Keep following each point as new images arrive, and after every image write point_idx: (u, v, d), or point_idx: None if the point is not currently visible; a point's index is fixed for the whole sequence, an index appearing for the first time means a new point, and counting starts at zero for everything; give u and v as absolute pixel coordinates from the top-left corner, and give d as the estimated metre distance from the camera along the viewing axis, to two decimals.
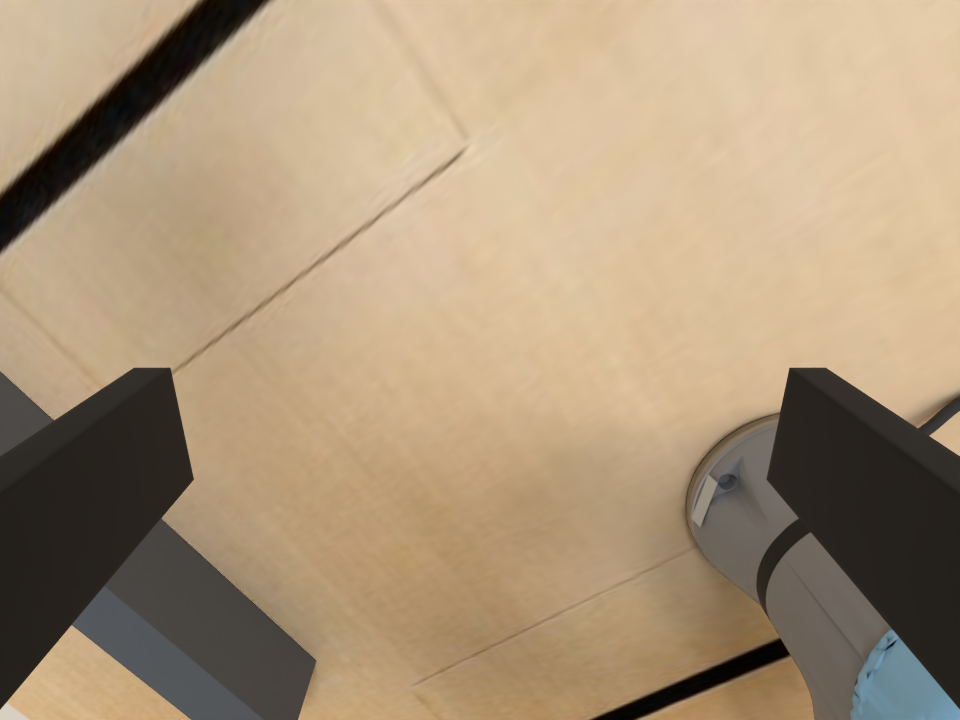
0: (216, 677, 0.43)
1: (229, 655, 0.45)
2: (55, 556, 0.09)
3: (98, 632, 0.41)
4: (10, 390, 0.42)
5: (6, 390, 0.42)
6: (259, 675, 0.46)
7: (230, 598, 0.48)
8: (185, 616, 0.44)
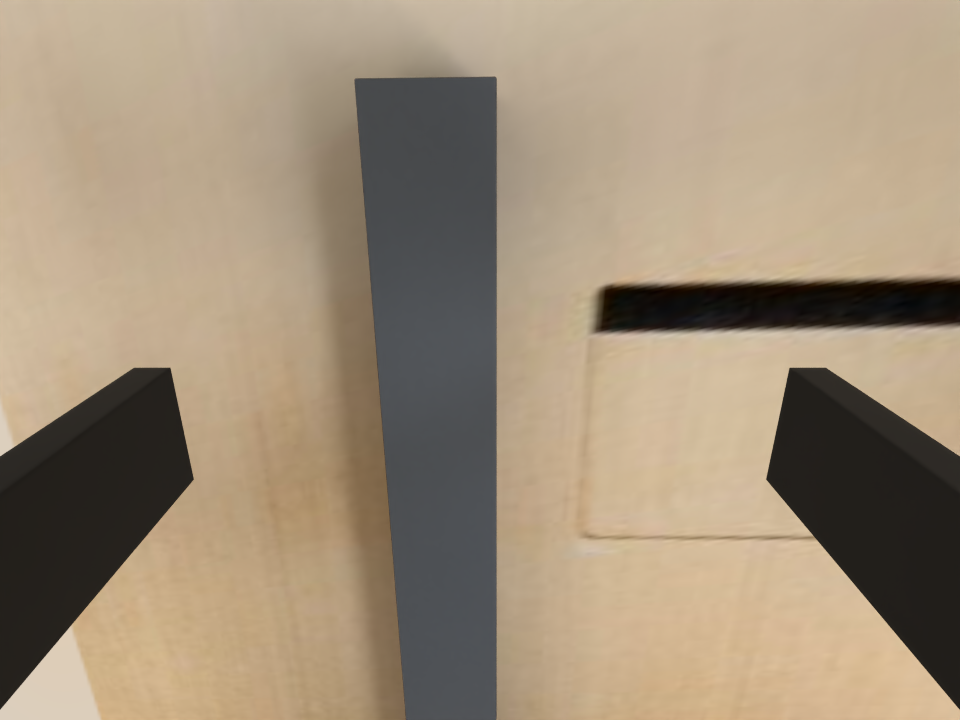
0: None
1: None
2: (55, 556, 0.09)
3: None
4: None
5: None
6: None
7: None
8: None
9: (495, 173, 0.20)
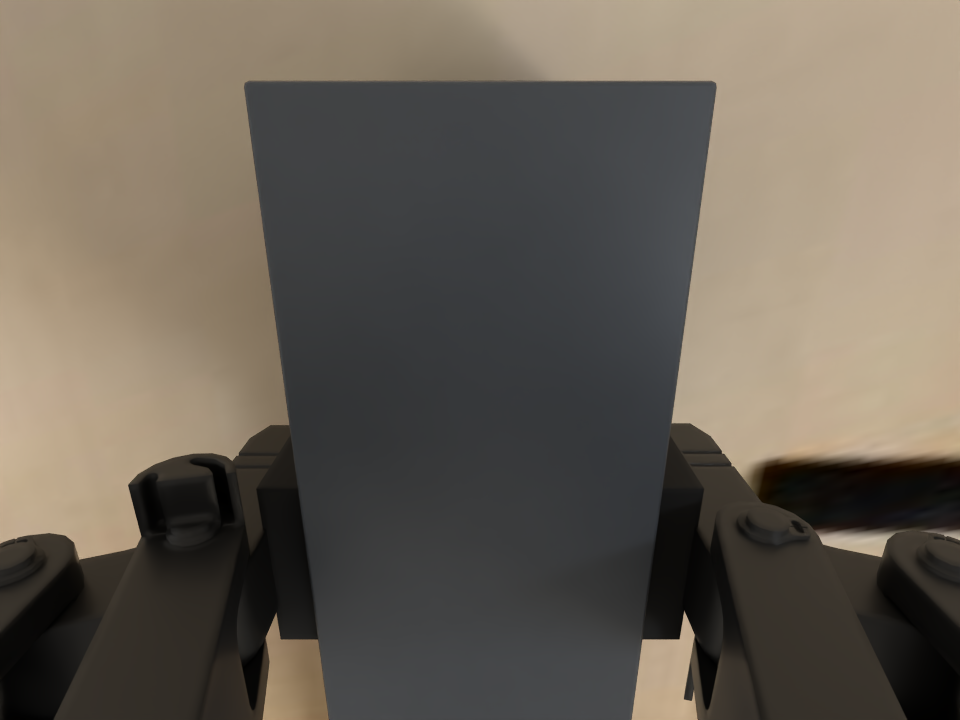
0: None
1: None
2: None
3: None
4: None
5: None
6: None
7: None
8: None
9: (677, 366, 0.07)
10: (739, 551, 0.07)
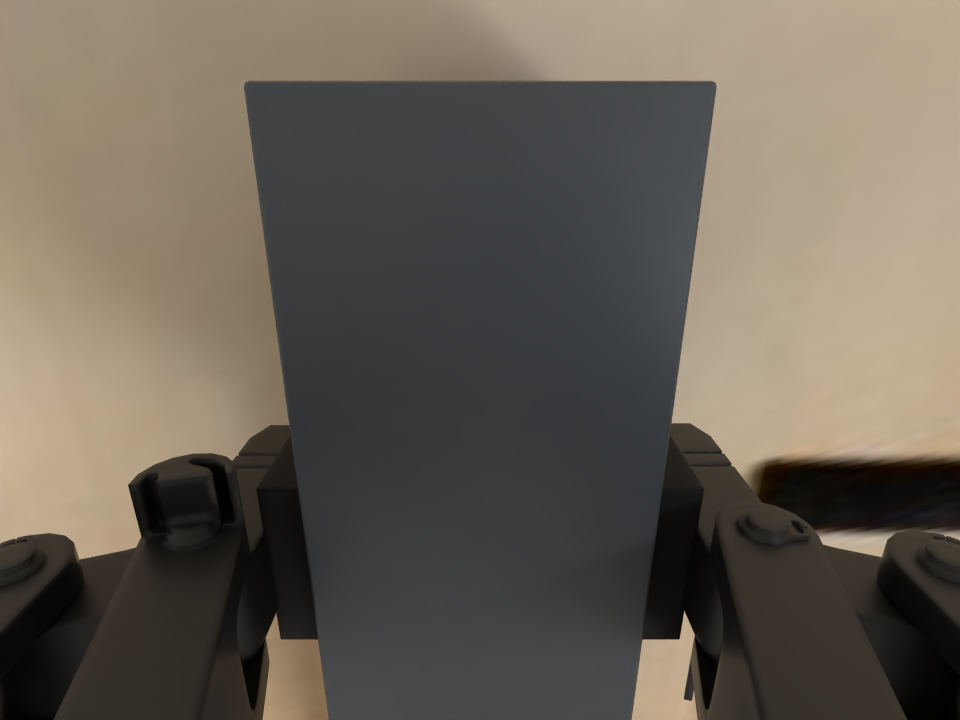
0: None
1: None
2: None
3: None
4: None
5: None
6: None
7: None
8: None
9: (677, 366, 0.07)
10: (739, 551, 0.07)
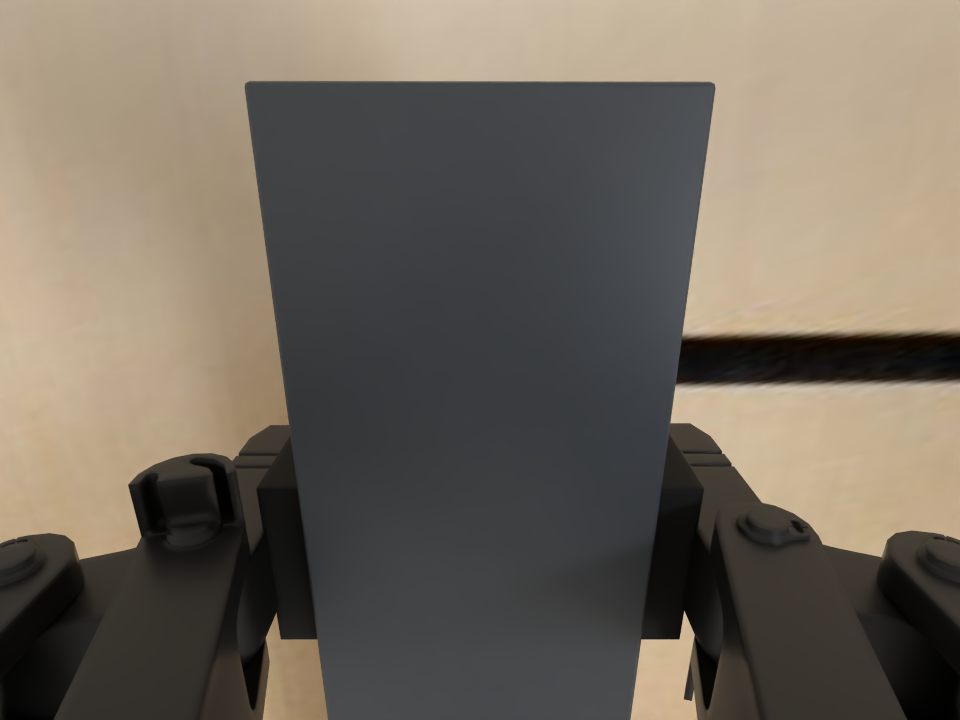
0: None
1: None
2: None
3: None
4: None
5: None
6: None
7: None
8: None
9: (676, 366, 0.07)
10: (739, 551, 0.07)
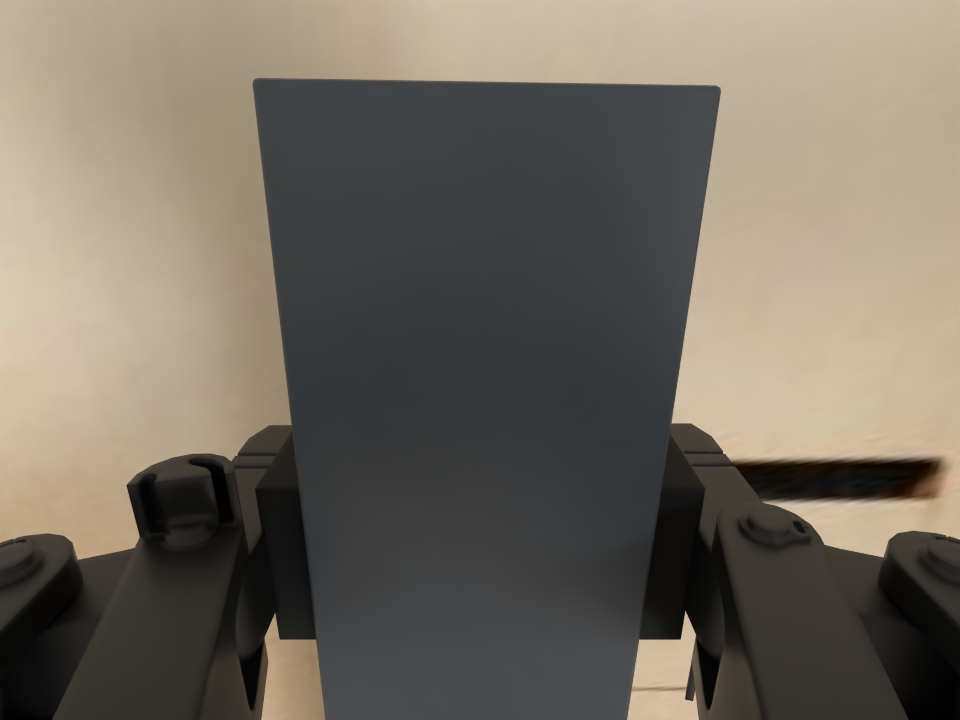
0: None
1: None
2: None
3: None
4: None
5: None
6: None
7: None
8: None
9: (677, 368, 0.07)
10: (740, 552, 0.07)
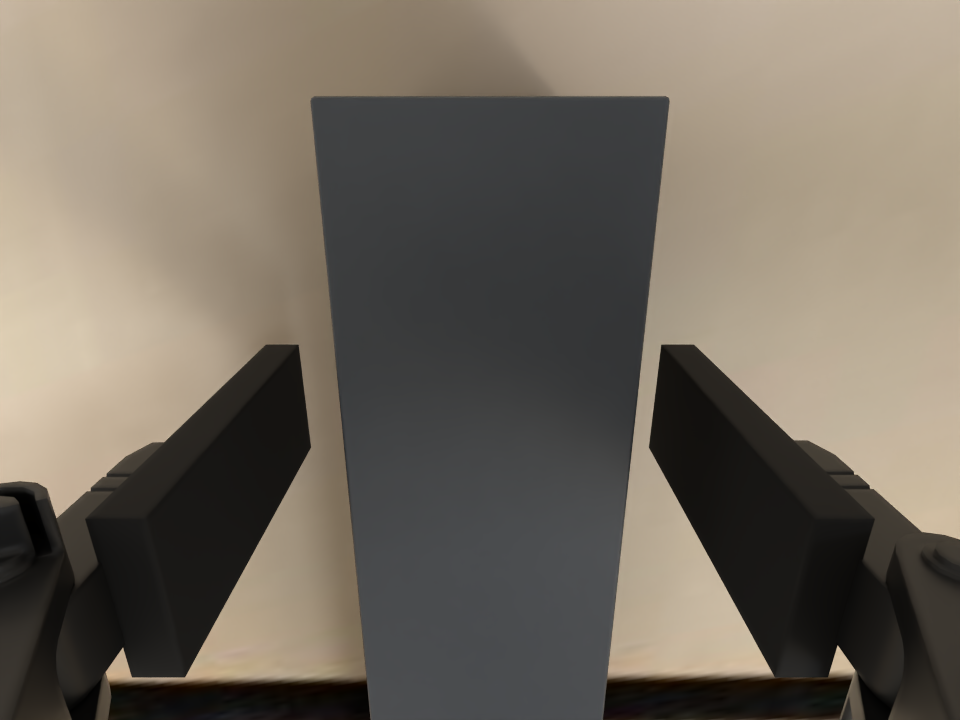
0: None
1: None
2: (240, 500, 0.10)
3: None
4: None
5: None
6: None
7: None
8: None
9: (644, 319, 0.08)
10: (926, 585, 0.06)
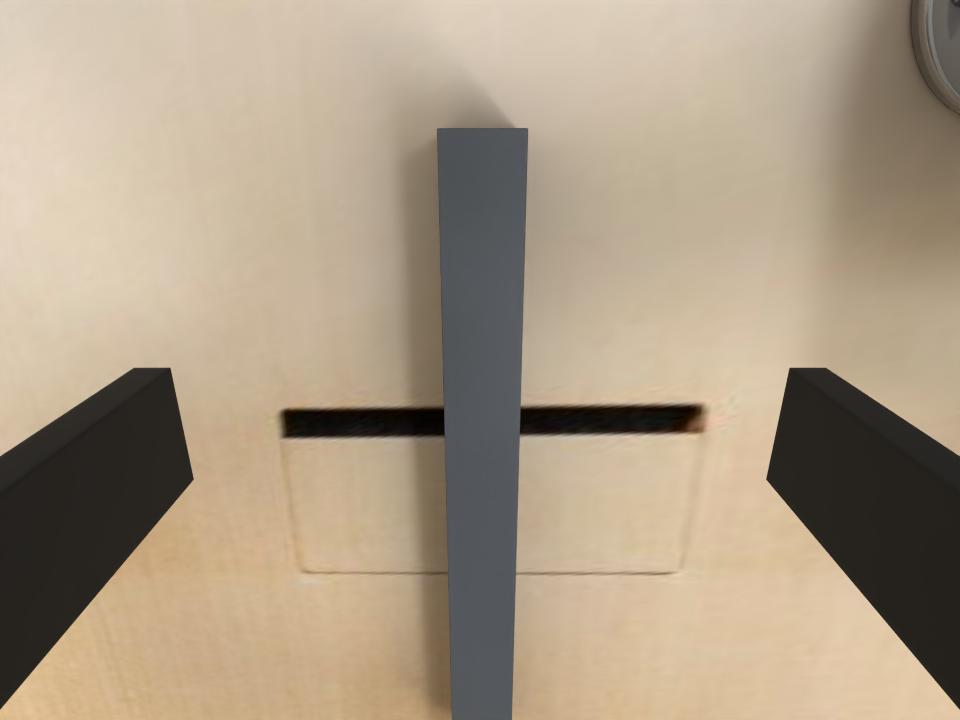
0: None
1: None
2: (56, 555, 0.09)
3: (464, 652, 0.42)
4: None
5: None
6: None
7: None
8: None
9: (525, 189, 0.30)
10: None
